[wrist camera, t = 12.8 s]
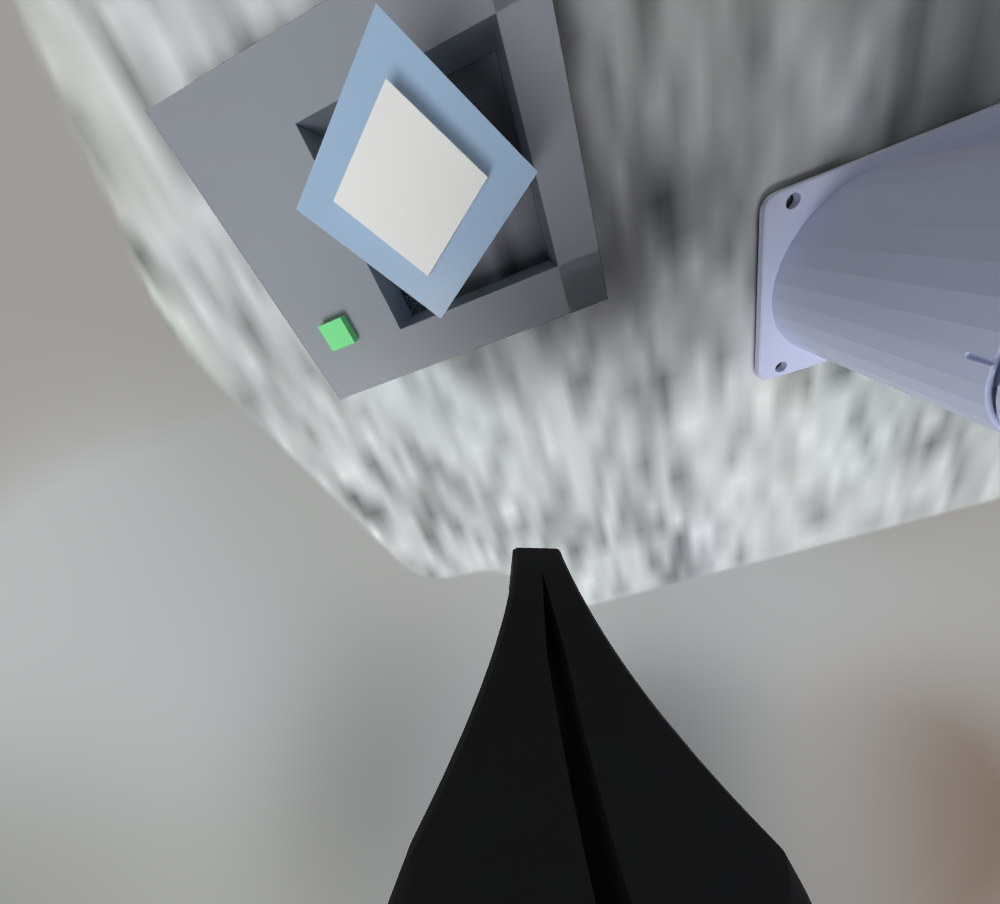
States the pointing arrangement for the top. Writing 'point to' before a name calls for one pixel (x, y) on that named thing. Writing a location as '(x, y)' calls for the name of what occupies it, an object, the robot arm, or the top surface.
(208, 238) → the top surface
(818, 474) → the top surface
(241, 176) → the frame
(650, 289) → the top surface
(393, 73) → the plug
